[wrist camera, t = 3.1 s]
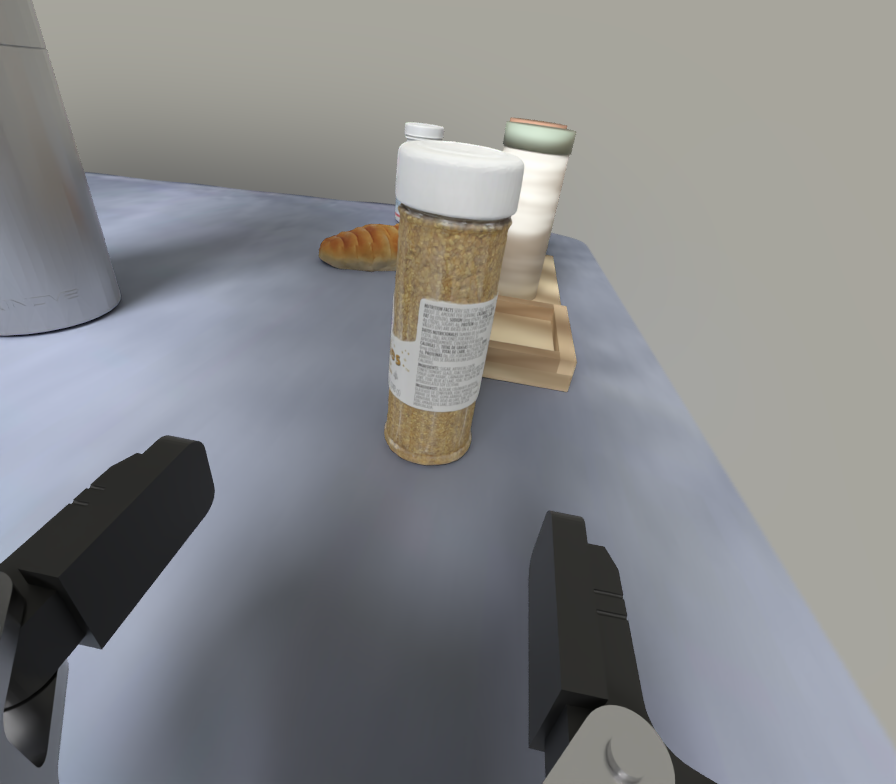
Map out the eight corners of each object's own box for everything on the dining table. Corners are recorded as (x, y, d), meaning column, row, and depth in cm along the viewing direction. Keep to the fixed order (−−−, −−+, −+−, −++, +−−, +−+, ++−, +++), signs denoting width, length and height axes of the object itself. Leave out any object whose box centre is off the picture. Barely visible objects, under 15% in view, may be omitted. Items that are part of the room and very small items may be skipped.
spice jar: (385, 411, 25) (398, 132, 17) (466, 415, 26) (513, 147, 18) (381, 469, 21) (396, 146, 14) (477, 472, 22) (541, 164, 14)
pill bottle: (424, 215, 63) (431, 123, 57) (449, 227, 59) (460, 130, 53) (386, 217, 60) (389, 119, 54) (410, 230, 56) (417, 126, 50)
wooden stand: (567, 392, 29) (643, 153, 21) (429, 367, 29) (455, 126, 22) (550, 266, 50) (584, 126, 43) (470, 253, 51) (491, 113, 43)
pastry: (330, 279, 41) (329, 235, 38) (311, 255, 45) (308, 215, 43) (424, 272, 45) (428, 232, 43) (398, 251, 50) (399, 215, 47)
